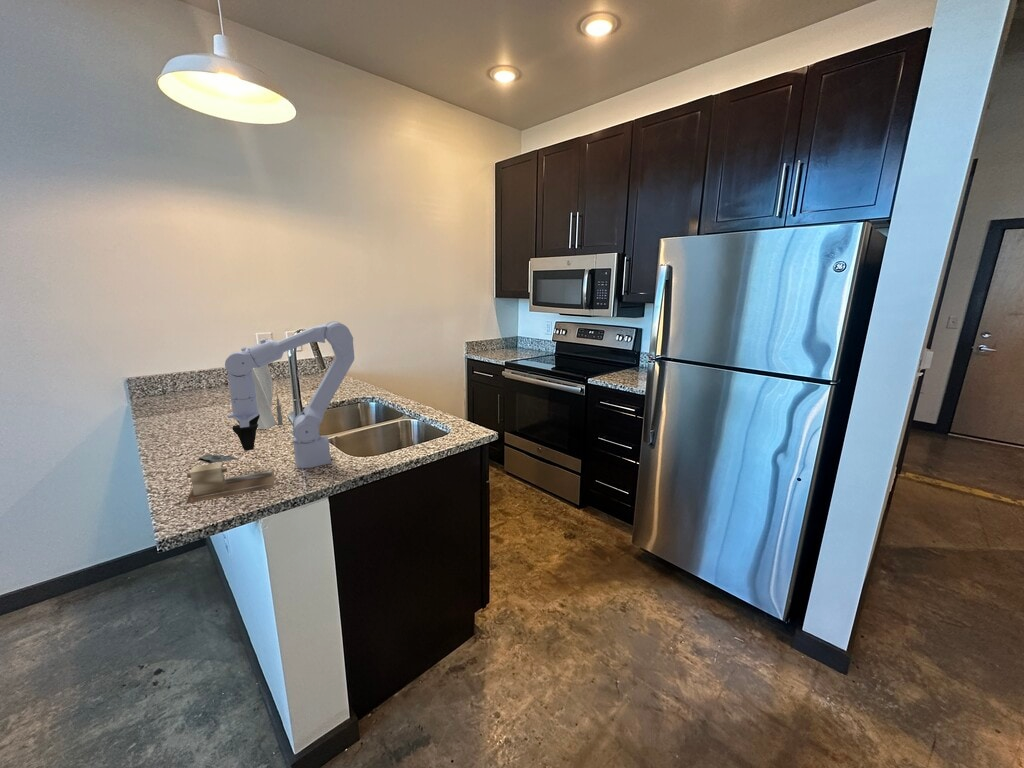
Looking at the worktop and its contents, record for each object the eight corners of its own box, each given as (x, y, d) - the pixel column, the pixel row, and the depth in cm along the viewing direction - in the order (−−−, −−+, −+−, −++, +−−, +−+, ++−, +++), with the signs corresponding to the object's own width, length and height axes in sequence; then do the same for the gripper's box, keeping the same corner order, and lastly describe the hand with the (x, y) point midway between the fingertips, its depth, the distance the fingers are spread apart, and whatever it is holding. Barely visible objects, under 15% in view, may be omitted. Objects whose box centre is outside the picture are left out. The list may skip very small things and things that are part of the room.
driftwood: (196, 460, 126) (195, 454, 126) (220, 453, 132) (219, 447, 131) (232, 476, 116) (231, 469, 116) (256, 468, 122) (255, 461, 121)
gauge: (230, 483, 107) (226, 461, 106) (228, 489, 103) (225, 467, 102) (191, 489, 103) (188, 467, 102) (188, 496, 100) (184, 473, 98)
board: (274, 475, 115) (273, 466, 115) (274, 492, 105) (273, 483, 105) (195, 488, 107) (194, 479, 106) (186, 509, 97) (184, 499, 96)
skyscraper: (267, 432, 151) (258, 357, 145) (249, 431, 153) (239, 356, 147) (284, 425, 159) (276, 354, 153) (266, 424, 161) (258, 353, 155)
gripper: (228, 392, 113) (234, 439, 116) (222, 405, 101) (229, 456, 104) (258, 390, 117) (263, 435, 119) (255, 402, 104) (261, 452, 107)
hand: (249, 445), depth 112 cm, fingers open, 7 cm apart
